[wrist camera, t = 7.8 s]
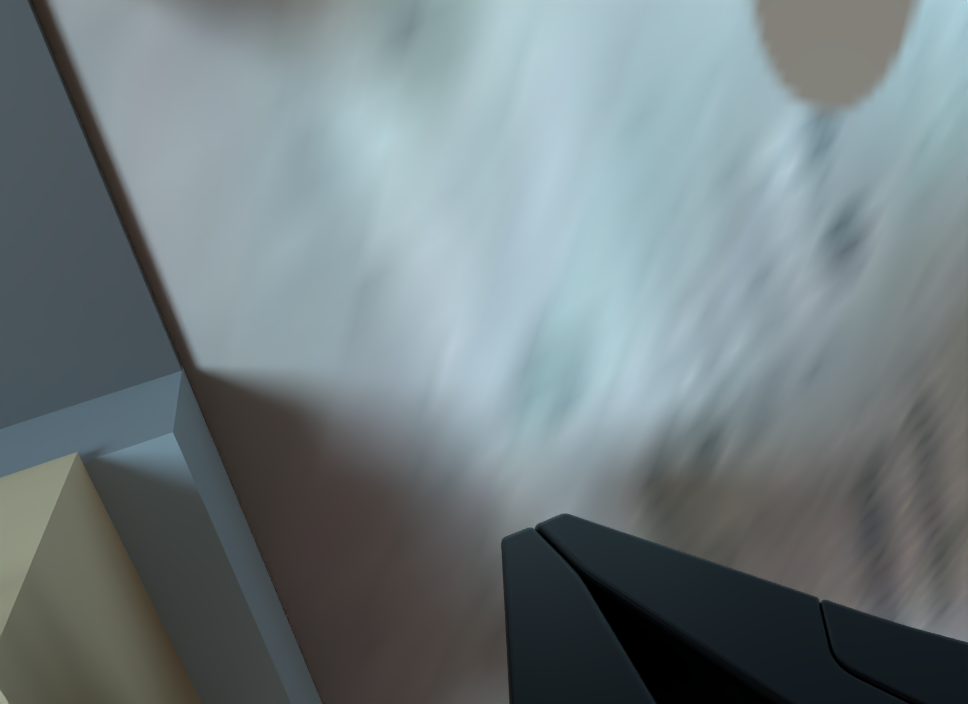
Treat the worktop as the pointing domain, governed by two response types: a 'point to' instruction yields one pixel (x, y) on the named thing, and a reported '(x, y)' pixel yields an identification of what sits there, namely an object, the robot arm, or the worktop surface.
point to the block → (76, 600)
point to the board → (120, 391)
